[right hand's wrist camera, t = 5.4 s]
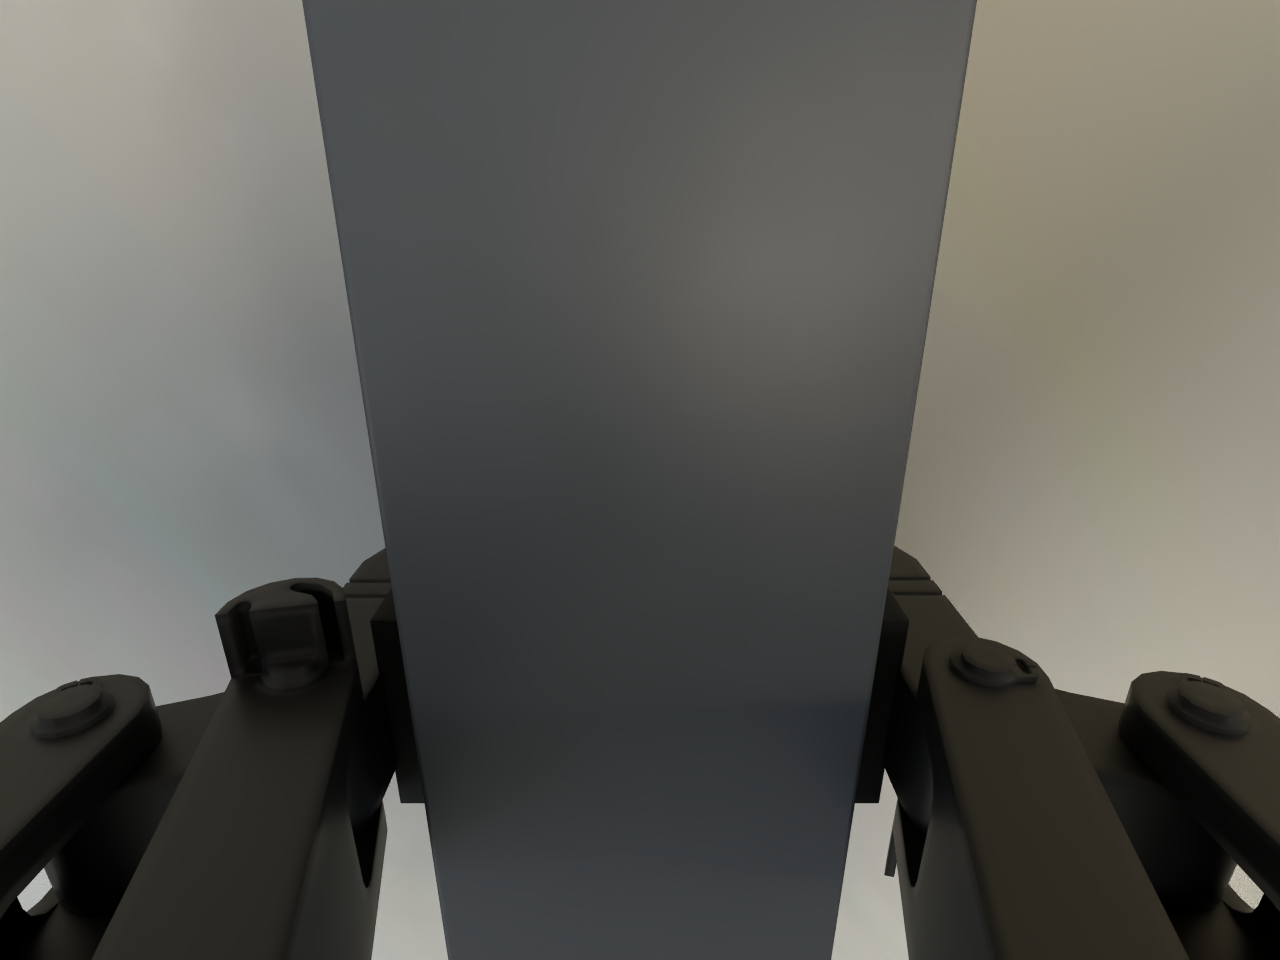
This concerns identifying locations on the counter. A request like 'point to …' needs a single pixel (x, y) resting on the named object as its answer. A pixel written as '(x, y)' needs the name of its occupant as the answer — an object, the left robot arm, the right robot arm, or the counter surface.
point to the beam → (639, 435)
